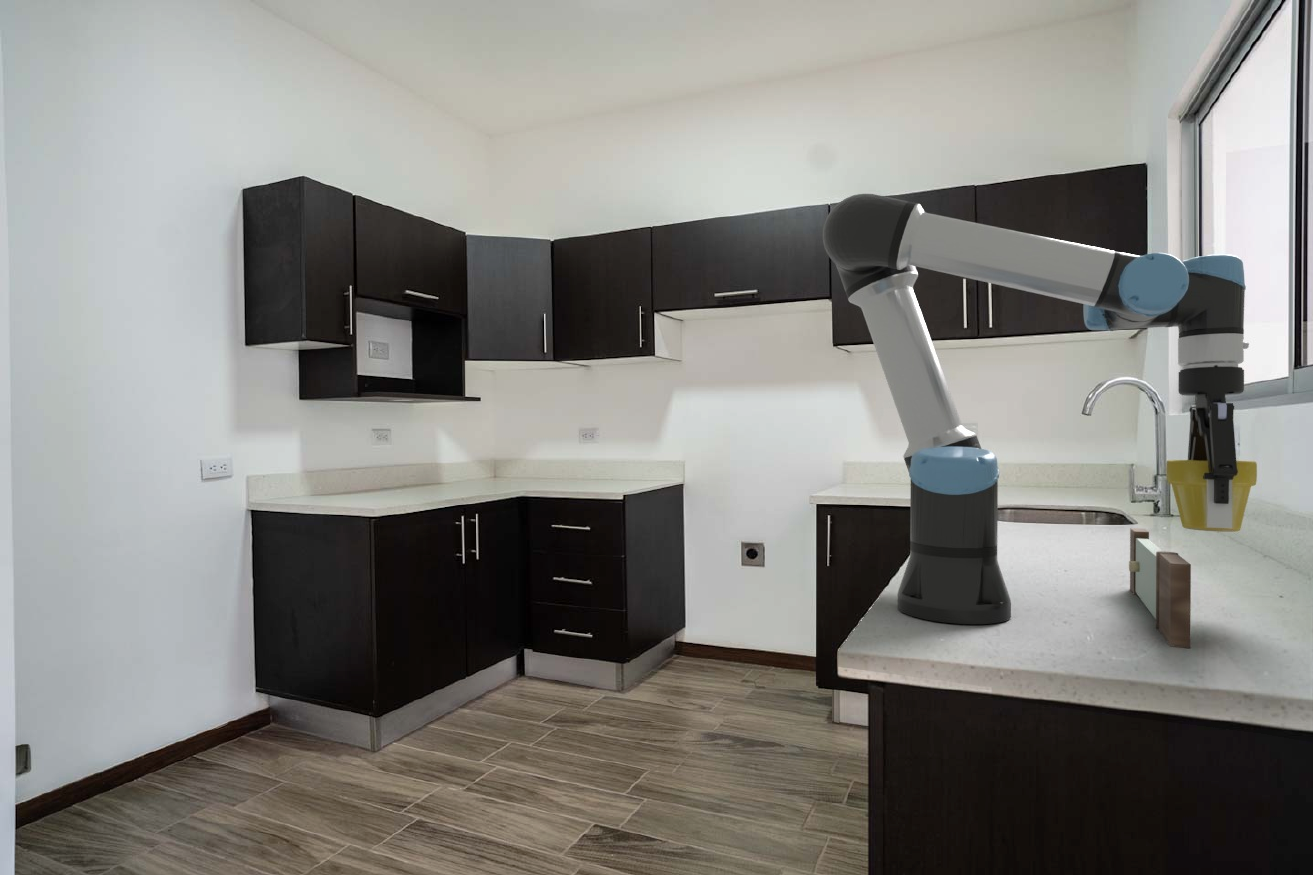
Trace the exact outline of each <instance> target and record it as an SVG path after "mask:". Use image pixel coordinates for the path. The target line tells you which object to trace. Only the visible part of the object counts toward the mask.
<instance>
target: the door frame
mask: <svg viewBox="0 0 1313 875" xmlns="http://www.w3.org/2000/svg"><path fill="white" fill-rule="evenodd" d="M1129 530H1130V532H1129V534H1130V536H1129V537H1130V538H1129V542H1130V543H1129V544H1130V545H1129V546H1130V547H1129V548H1130V549H1129V551H1130V552H1129V561H1136V538H1145V539H1149V540H1150V532H1149V530H1147V529H1146V528H1138V527H1137V528H1133V527H1130V528H1129ZM1191 577H1192V565H1191V564H1190V562H1189V561H1188V560H1186V559H1185V558H1183V557H1182V556H1181V555H1180V554H1179V553H1178V552H1175V551H1166V550H1165V551H1163V550H1162V551H1158V552H1156V619H1155V629H1156V630H1159V632H1160V634H1161V636H1163V638H1164V639H1165V641H1166V642H1167V644H1168V645H1169V646H1170V647H1176V648H1177V647H1178V648H1185V649H1187V648H1188V649H1191V617H1192V616H1191V610H1192V609H1191V608H1192V607H1191V606H1192V605H1191V604H1192V602H1191V599H1192V597H1191V596H1192V595H1191V591H1192V590H1191V588H1192V584H1191V583H1192V580H1191V579H1192V578H1191ZM1129 590H1130V591H1131V593H1132V594H1133V595H1135V596H1136V595H1137V596H1138V594H1137V593H1136V572H1131V571H1129Z"/></svg>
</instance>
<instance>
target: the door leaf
mask: <svg viewBox="0 0 1313 875" xmlns="http://www.w3.org/2000/svg"><path fill="white" fill-rule="evenodd" d="M1158 551H1163V550H1162V549H1161V548H1160V547H1158V545H1156V544H1155V543H1154V542H1152V541H1151V540H1150V538H1149V539H1145V538H1136V561H1130V560H1129V561H1128V571H1129V572H1130V571H1131V572H1136V593H1137V594H1138V595H1137V596H1138V597H1139V599H1140V600H1141V601H1142V603H1143V604H1144V606H1145V607H1146V608H1147V609H1148V611H1149V612H1150V614H1151V615H1152V616H1153V618H1154V619H1155V620H1156V552H1158Z"/></svg>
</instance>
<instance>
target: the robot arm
mask: <svg viewBox="0 0 1313 875" xmlns="http://www.w3.org/2000/svg"><path fill="white" fill-rule="evenodd" d="M822 243H823V246H824V247H823V248H824V250H825V252H826V253H827V255H828V257H829V259H830V260H832V262H833V263H834V265H835V266H836V269H837V272H838V274H839V277H840V279H841V283H842V286H843V289H844V291H845V295H846V296H847V300H848V302H849V303H850V304H853V305H855V306H858V307H859V308H860V309H861V311H862V313H863V317H864V320H865V322H866V326H867V329H868V332H869V333H870V337H871V339H872V342H873V345H874V348H875V351H876V354H877V357H878V359H879V362H880V365H881V368H882V371H883V373H884V377H885V380H886V382H887V385H888V388H889V391H890V394H891V396H892V399H893V402H894V406H895V407H896V410H897V414H898V416H899V420H900V422H901V425H902V427H903V431H904V433H905V437H906V440H907V441H908V445H907V446H908V447H907V448H906V450H905V451H904V453H903V455H902V457H903V460H904V462H905V466H906V468H907V471H908V474H909V475H908V476H909V478H910V506H909V507H910V512H909V513H910V517H909V518H910V520H909V521H910V530H909V531H910V532H909V533H910V535H909V536H910V537H909V538H910V540H909V541H910V542H909V543H910V547H909V548H910V551H909V552H910V553H909V558H908V561H907V564H906V568H905V570H904V574H903V576H902V579H901V581H900V582H901V583H900V584H899V587H898V591H897V605H896V606H897V609H898V610H899V611H900V612H902V613H904V614H905V615H907V616H911V617H914V618H918V619H921V620H927V621H932V622H937V623H938V622H940V623H946V624H947V623H949V624H957V625H958V624H959V625H986V624H987V625H988V624H989V625H991V624H998V623H1003V622H1006V621H1009V620H1010V619H1011V618H1012V601H1011V597H1010V594H1009V591H1008V588H1007V586H1006V583H1005V580H1004V577H1003V574H1002V571H1001V568H1000V565H999V561H998V532H999V531H998V524H999V523H998V516H999V515H998V511H999V510H998V506H999V505H998V504H999V502H998V500H999V499H998V496H999V494H998V492H999V490H998V489H999V483H998V480H999V478H1000V469H999V466H998V458H997V456H996V455H995V453H993V452H992V451H991V450H988V449H985V448H982V447H981V444H980V442H979V438H978V435H977V433H975V432H973V431H971V430H969V429H967V428H965V426H964V425H962V424H963V423H962V421H961V419H960V415H959V413H958V410H957V408H956V405H955V402H954V398H953V397H952V393H951V391H950V388H949V385H948V383H947V379H946V377H945V374H944V371H943V368H942V366H941V363H940V360H939V358H938V355H937V352H936V349H935V346H934V343H933V341H932V338H931V335H930V332H929V330H928V327H927V324H926V322H925V319H924V316H923V312H922V310H921V308H920V306H919V302H918V300H917V297H916V294H915V292H914V285H915V283H916V281H917V279H918V277H919V273H918V270H917V267H918V268H922V269H927V270H931V271H934V272H935V271H936V272H939V273H945V274H949V275H953V276H958V277H961V278H967V279H970V280H974V281H975V280H976V281H980V282H985V283H988V284H994V285H997V286H998V285H999V286H1003V287H1006V288H1010V289H1016V290H1019V291H1020V290H1021V291H1025V292H1028V293H1034V294H1038V295H1043V296H1047V297H1051V298H1055V299H1060V300H1065V301H1069V302H1074V303H1079V304H1083V313H1082V314H1083V321H1084V322H1083V323H1084V325H1085V327H1086V329H1088V330H1091V331H1108V332H1114V331H1116V330H1117V331H1118V330H1136V329H1137V330H1138V329H1151V328H1173V327H1177V328H1178V339H1177V345H1178V346H1177V347H1178V349H1177V352H1178V353H1177V356H1178V357H1177V358H1178V359H1177V360H1178V362H1177V364H1178V365H1179V366H1180V367H1182V369H1180V371H1178V394H1179V395H1180V396H1196V399H1195V400H1196V401H1195V405H1190V408H1189V412H1190V413H1189V418H1190V419H1189V420H1190V421H1189V431H1188V432H1189V434H1188V448H1187V450H1188V451H1187V460H1199V461H1208V469H1209V473H1204V475H1203V479H1207V527H1209V528H1232V481H1233V477H1234V476H1236V475H1237V473H1238V470H1237V462H1236V461H1237V452H1236V440H1235V425H1234V424H1235V423H1234V410H1235V405H1234V403H1233V402H1227V399H1226V396H1228V395H1233V396H1234V395H1240V394H1242V393H1244V391H1245V370H1244V369H1243V367H1241V366H1239V364H1242V363H1243V362H1245V361H1244V359H1245V358H1244V354H1245V350H1246V349H1248V348H1249V346H1250V343H1249V342H1247V341H1244V334H1245V330H1244V326H1245V325H1244V321H1245V319H1244V318H1245V297H1246V296H1245V293H1246V290H1247V289H1246V287H1247V286H1246V285H1245V270H1244V262H1243V260H1242V259H1241V258H1240V257H1239V256H1237V255H1235V254H1234V255H1233V254H1226V253H1225V254H1208V255H1203V256H1195V257H1191V258H1188V259H1185V260H1183V261H1181V260H1180V259H1179V258H1177V257H1176V256H1174V255H1172V254H1169V253H1164V252H1153V253H1151V252H1150V253H1146V254H1144V255H1143V254H1142V255H1137V254H1131V253H1126V252H1120V251H1115V250H1110V249H1106V248H1102V247H1097V246H1091V245H1086V244H1081V243H1077V242H1071V241H1067V240H1062V239H1061V240H1060V239H1055V238H1051V237H1047V236H1041V235H1037V234H1032V233H1028V232H1021V231H1017V230H1013V229H1008V228H1001V227H999V226H992V225H988V224H985V223H984V224H983V223H978V222H973V221H967V220H964V219H963V220H962V219H959V218H954V217H950V216H944V215H939V214H935V213H929V212H926V211H925V210H924V208H923V207H922V205H921V204H920V203H918V202H914V201H913V202H912V201H907V200H904V199H903V200H902V199H898V198H893V197H890V196H889V197H888V196H884V195H881V194H880V195H879V194H875V193H858V194H854V195H850V196H849V197H845V198H844V199H843V200H841V201H840V202H838V203H837V204H836V205H835V206H834V207H833V208H832V209H831V211H829V213H828V215H827V217H826V219H825V222H824V224H823V229H822ZM1213 479H1214V480H1213Z"/></svg>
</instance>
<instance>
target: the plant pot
mask: <svg viewBox="0 0 1313 875" xmlns="http://www.w3.org/2000/svg"><path fill="white" fill-rule="evenodd" d="M1236 462H1237V470H1238V473H1237V475H1236V476H1234V477H1233V481H1232V528H1209V527H1207V479H1203V475H1204V473H1209V469H1208V461H1199V460H1188V459H1172V460H1171V459H1170V460H1166V466H1165V467H1166V483H1168V484H1170V485H1171V487H1172V491H1173V495H1174V498H1175V502H1176V505H1177V511H1178V513H1179V518H1180V523H1181V527H1182V528H1185V529H1186V530H1187V529H1189V530H1193V531H1204V532H1218V533H1219V532H1220V533H1221V532H1225V533H1226V532H1227V533H1228V532H1229V533H1230V532H1231V533H1232V532H1233V533H1234V532H1238V531H1239V532H1240V530H1242V529H1241V528H1242V524H1243V519H1244V515H1245V513H1246V512H1245V511H1246V507H1247V503H1248V500H1249V495H1250V492H1251V488H1252V487H1253V486H1256V485H1257V481H1258V480H1257V478H1258V476H1257V475H1258V469H1257V468H1258V467H1257V466H1258V464H1257V462H1256V461H1254V460H1236ZM1213 480H1214V479H1213Z"/></svg>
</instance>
